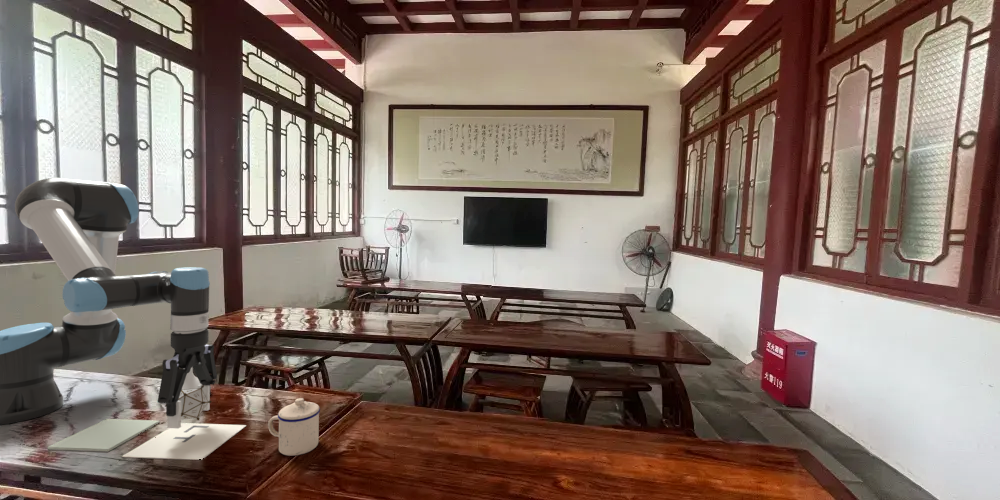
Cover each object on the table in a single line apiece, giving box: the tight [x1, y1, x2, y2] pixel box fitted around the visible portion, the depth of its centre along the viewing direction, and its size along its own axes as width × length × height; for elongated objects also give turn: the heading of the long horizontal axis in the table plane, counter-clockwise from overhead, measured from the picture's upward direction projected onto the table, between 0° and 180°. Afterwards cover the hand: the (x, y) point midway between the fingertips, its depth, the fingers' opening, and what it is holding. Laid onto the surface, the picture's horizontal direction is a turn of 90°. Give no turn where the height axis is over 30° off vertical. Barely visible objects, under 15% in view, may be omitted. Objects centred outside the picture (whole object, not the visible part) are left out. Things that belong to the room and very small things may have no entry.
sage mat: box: [47, 418, 161, 453], centre depth 100 cm, size 14×14×1 cm
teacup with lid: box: [267, 397, 321, 457], centre depth 98 cm, size 12×9×12 cm
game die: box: [164, 385, 213, 422], centre depth 102 cm, size 9×8×10 cm
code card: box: [121, 422, 247, 461], centre depth 99 cm, size 18×16×1 cm
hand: (189, 418), depth 102 cm, fingers closed on game die, 9 cm apart
